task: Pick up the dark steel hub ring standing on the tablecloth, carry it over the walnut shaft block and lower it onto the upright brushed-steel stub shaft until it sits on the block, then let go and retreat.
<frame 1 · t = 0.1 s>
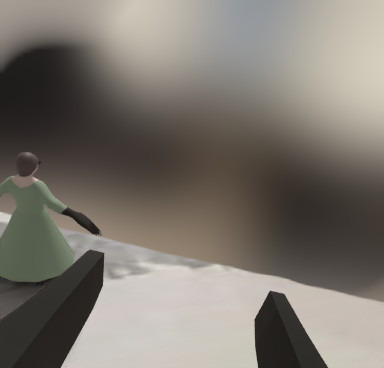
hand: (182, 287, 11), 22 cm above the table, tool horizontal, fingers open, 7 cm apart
character figurine: (41, 275, 35), on the table
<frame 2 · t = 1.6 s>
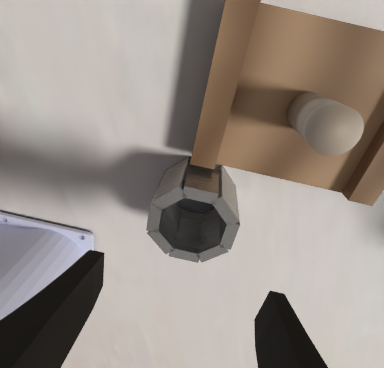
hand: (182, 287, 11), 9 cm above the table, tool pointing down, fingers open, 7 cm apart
shaft block: (300, 107, 16), on the table
hub: (197, 191, 19), on the table
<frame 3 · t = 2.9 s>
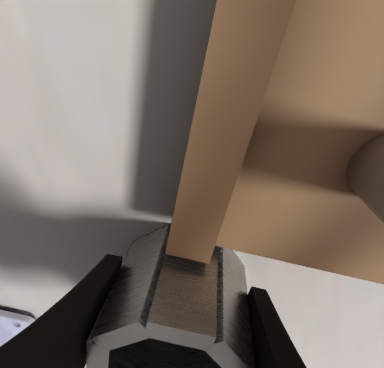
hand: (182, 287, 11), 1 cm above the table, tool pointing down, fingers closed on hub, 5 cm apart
shaft block: (365, 153, 9), on the table
hub: (184, 271, 12), on the table, touching gripper
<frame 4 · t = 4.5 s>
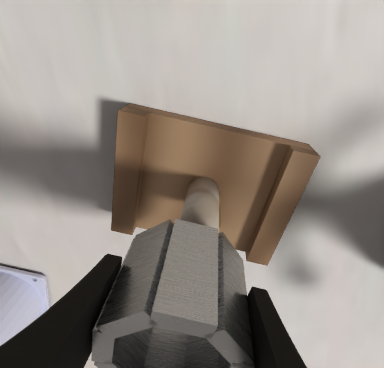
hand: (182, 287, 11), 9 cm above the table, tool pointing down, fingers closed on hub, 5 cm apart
shaft block: (204, 182, 18), on the table
hub: (184, 265, 13), point 7 cm above the table, touching gripper
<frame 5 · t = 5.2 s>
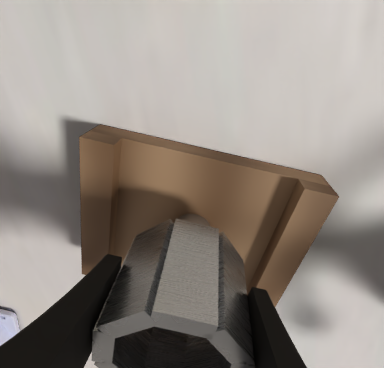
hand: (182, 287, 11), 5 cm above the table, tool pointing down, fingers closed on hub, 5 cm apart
shaft block: (193, 217, 15), on the table
hub: (185, 265, 13), point 3 cm above the table, touching gripper
when the fingers open (4 cm above the table, at t = 6.0 s): hub stays where it is, resting on shaft block.
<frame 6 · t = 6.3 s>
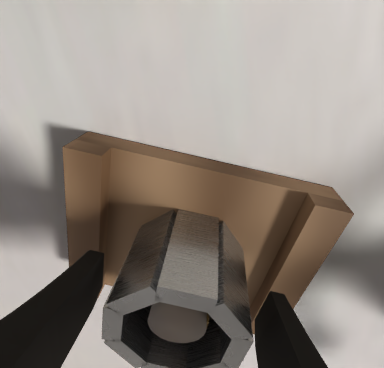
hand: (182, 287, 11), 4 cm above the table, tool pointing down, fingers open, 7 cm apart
shaft block: (192, 231, 14), on the table
hub: (187, 254, 13), point 1 cm above the table, touching shaft block
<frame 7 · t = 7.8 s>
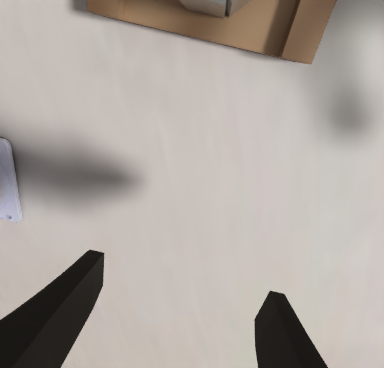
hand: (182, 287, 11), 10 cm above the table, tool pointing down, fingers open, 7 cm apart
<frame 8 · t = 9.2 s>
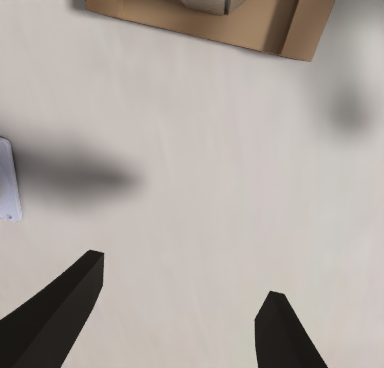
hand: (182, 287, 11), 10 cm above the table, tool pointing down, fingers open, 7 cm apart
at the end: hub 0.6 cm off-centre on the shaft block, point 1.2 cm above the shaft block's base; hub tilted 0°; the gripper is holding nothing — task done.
